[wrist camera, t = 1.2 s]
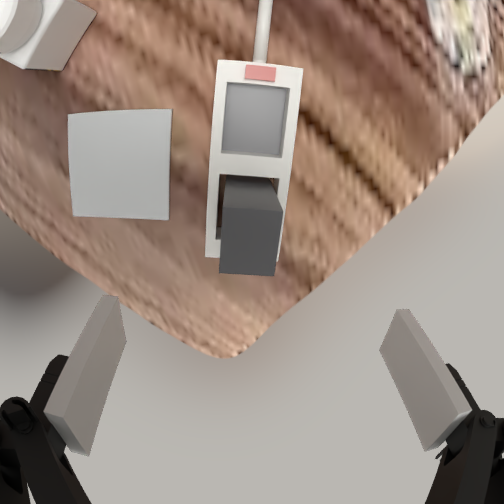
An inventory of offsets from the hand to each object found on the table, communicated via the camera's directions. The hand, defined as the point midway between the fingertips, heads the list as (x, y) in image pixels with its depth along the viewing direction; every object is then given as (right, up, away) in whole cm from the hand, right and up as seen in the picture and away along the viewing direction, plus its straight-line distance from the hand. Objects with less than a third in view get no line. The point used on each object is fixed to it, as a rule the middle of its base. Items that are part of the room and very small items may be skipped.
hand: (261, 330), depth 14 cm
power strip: (0, +16, +13) cm, 21 cm away
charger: (-1, +9, +17) cm, 19 cm away
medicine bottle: (-20, +26, +7) cm, 34 cm away
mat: (-14, +12, +14) cm, 23 cm away
